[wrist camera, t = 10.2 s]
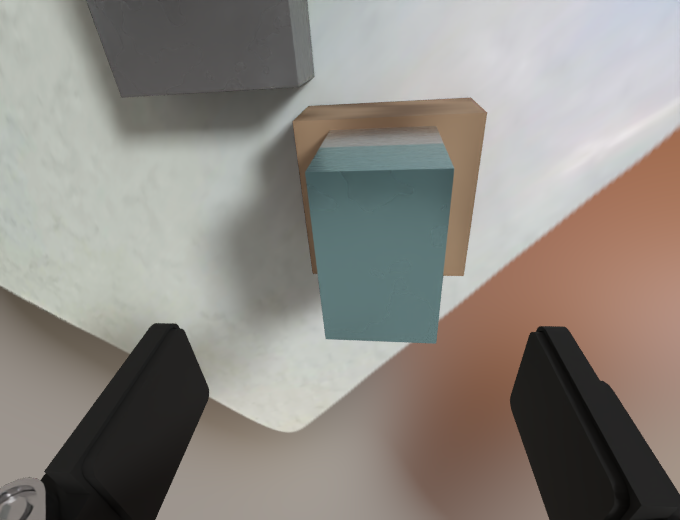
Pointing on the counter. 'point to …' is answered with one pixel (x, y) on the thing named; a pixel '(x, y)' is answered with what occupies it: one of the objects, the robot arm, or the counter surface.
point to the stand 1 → (204, 44)
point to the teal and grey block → (380, 231)
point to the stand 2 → (446, 114)
